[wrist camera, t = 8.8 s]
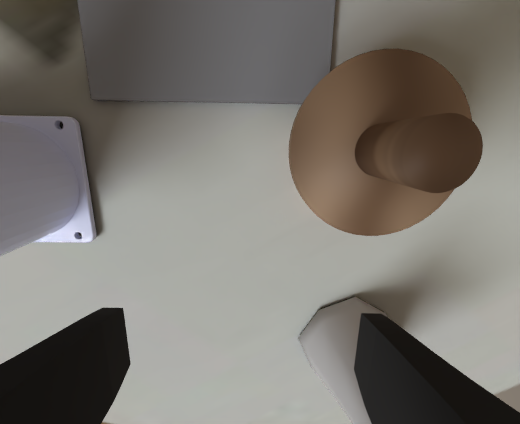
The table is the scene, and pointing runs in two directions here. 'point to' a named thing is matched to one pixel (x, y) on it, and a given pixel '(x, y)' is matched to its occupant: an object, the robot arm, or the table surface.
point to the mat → (206, 49)
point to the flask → (338, 353)
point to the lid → (382, 142)
